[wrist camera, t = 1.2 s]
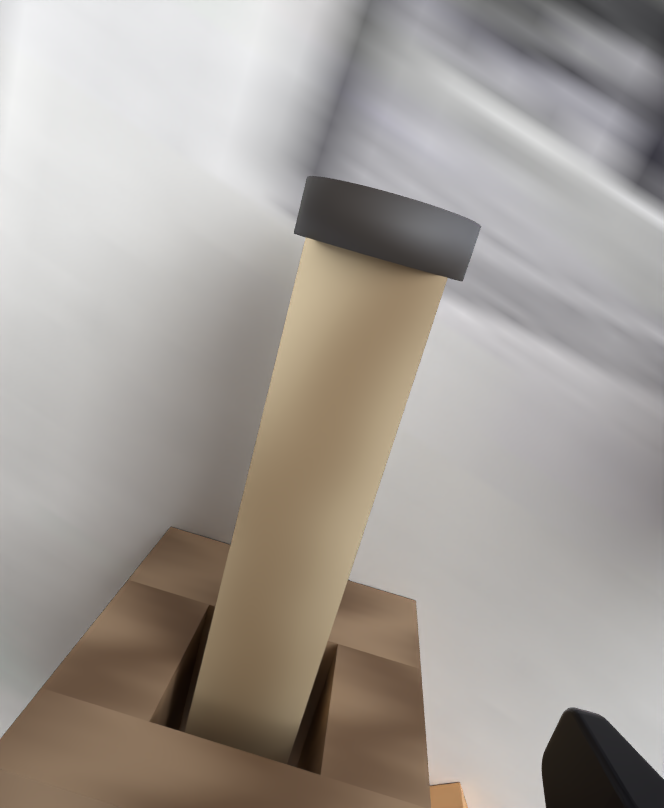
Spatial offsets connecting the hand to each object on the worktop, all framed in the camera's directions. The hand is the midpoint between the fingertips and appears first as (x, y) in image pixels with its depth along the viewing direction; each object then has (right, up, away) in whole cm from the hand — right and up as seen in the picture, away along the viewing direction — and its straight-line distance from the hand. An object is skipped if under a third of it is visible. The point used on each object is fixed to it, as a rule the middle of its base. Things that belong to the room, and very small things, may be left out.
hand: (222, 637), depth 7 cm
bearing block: (-1, -6, +14) cm, 16 cm away
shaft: (0, -3, +10) cm, 11 cm away
